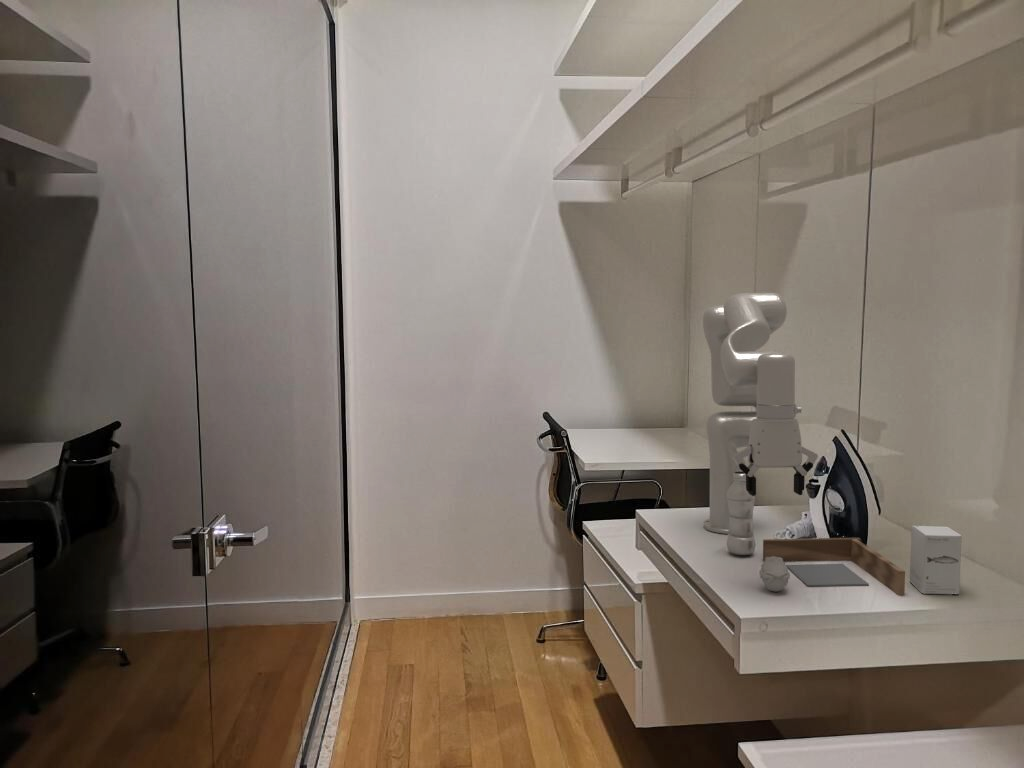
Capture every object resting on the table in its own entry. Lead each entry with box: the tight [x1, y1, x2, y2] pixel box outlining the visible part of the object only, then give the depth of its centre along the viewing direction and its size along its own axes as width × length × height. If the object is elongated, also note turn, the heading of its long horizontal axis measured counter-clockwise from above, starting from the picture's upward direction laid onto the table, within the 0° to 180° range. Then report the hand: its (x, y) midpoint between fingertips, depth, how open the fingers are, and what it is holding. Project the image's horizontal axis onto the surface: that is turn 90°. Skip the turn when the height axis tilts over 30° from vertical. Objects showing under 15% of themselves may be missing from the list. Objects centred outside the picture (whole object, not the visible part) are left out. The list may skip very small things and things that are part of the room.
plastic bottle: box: [726, 471, 756, 556], centre depth 185 cm, size 6×7×20 cm
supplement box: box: [909, 525, 963, 595], centre depth 161 cm, size 7×7×13 cm
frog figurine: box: [759, 556, 791, 592], centre depth 162 cm, size 6×7×7 cm
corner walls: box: [762, 537, 906, 596], centre depth 170 cm, size 23×22×5 cm
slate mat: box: [785, 563, 870, 588], centre depth 170 cm, size 13×13×1 cm
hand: (775, 494), depth 162 cm, fingers open, 9 cm apart
